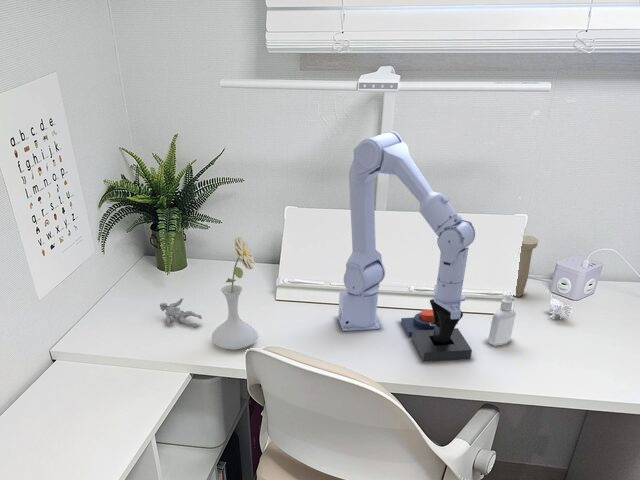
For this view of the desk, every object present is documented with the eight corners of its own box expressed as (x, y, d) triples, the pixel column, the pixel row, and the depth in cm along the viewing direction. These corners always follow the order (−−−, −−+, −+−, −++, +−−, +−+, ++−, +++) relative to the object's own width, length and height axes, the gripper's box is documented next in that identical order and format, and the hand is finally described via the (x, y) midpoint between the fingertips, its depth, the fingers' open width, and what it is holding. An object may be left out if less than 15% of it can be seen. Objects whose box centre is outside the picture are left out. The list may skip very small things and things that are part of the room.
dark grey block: (429, 352, 159) (432, 325, 155) (424, 344, 162) (428, 317, 158) (455, 350, 160) (460, 323, 155) (451, 342, 163) (455, 316, 158)
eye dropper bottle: (512, 346, 162) (523, 298, 154) (489, 346, 162) (498, 299, 154) (508, 337, 165) (518, 290, 158) (485, 338, 165) (493, 291, 158)
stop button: (422, 322, 166) (422, 316, 165) (418, 316, 169) (419, 309, 168) (436, 321, 167) (437, 315, 166) (432, 315, 169) (433, 309, 168)
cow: (571, 324, 170) (576, 307, 167) (549, 325, 170) (554, 307, 167) (556, 304, 179) (561, 287, 176) (536, 304, 180) (540, 287, 177)
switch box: (408, 337, 166) (409, 326, 164) (400, 323, 172) (402, 312, 171) (452, 335, 167) (454, 323, 165) (443, 320, 173) (444, 309, 171)
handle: (525, 290, 187) (536, 236, 177) (526, 300, 182) (538, 244, 172) (506, 289, 187) (517, 235, 178) (507, 299, 183) (518, 243, 173)
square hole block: (422, 362, 156) (424, 352, 155) (411, 340, 165) (412, 330, 164) (470, 359, 157) (472, 349, 156) (456, 337, 166) (457, 328, 164)
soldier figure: (188, 336, 171) (149, 314, 173) (193, 340, 176) (155, 319, 178) (203, 309, 171) (164, 287, 173) (208, 314, 176) (169, 293, 177)
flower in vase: (240, 358, 159) (234, 253, 144) (202, 346, 164) (192, 244, 149) (271, 336, 168) (268, 235, 152) (233, 326, 173) (227, 226, 157)
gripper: (478, 290, 145) (468, 348, 153) (458, 265, 156) (450, 319, 165) (446, 292, 144) (437, 349, 153) (428, 266, 156) (421, 321, 164)
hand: (442, 334), depth 159 cm, fingers closed on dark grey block, 4 cm apart
